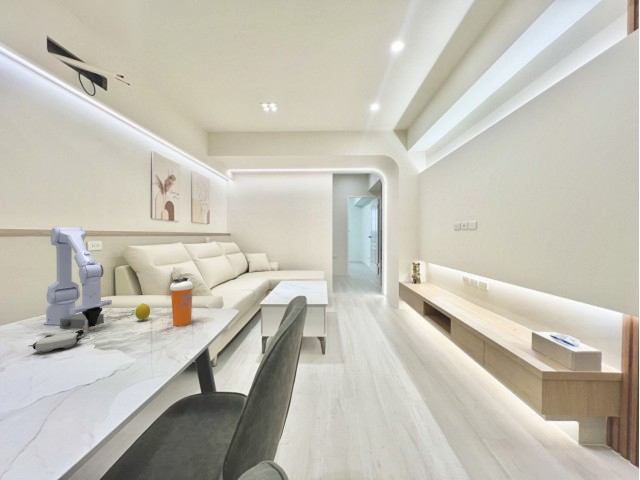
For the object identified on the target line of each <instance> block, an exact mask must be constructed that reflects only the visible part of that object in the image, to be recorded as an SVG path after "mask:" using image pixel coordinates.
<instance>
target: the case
mask: <svg viewBox="0 0 640 480" xmlns="http://www.w3.org/2000/svg"><path fill="white" fill-rule="evenodd" d="M104 318H105V317H104V313H100V315H99V316H98V319H97V322H96V326H97V325H101V324H103V323H104V320H105V319H104ZM86 319H87V318H86V317H85V316H84V314H83V313H82V312H79V313H76V314H75V315H72V316H69V317H65V318H62V319H60V325H59V328H60V329H67V330H83V326H85V320H86ZM89 328H91V327H90V326H89V323H88V329H89Z"/></svg>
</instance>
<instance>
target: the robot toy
mask: <svg viewBox="0 0 640 480" xmlns="http://www.w3.org/2000/svg"><path fill="white" fill-rule="evenodd" d="M85 332H86V330H84V331H83V329H78V330H76V331H74V330H73V329H66V330H61V331H56V332H55V333H54V334H53V335H52V334H49V335H46V336H44V337H43V338H40V339H38V340H37V341H36V342H34V343H33V344H28V345H27V347H32V348H33V350H36V351H39V352H44V353H49V352H51V351H53V350H56V349H60V348H62V349H68V348H71V347H73V346H74V345H75V344H76V343H78V342H80V341H81V339H83V335H84V334H85Z"/></svg>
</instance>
